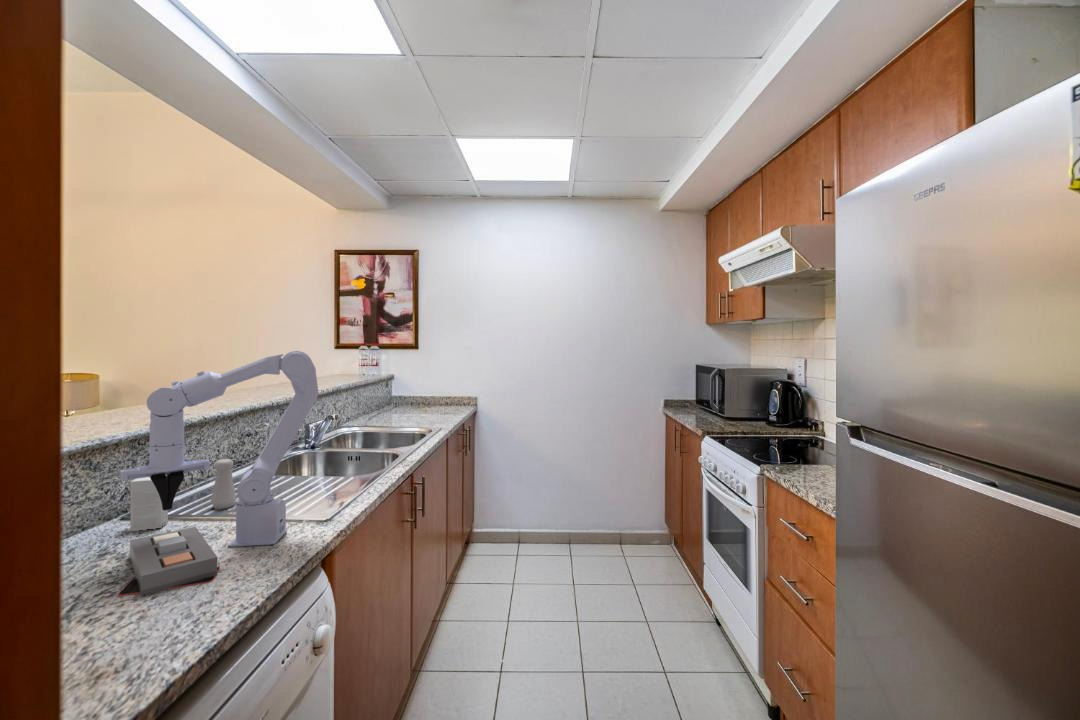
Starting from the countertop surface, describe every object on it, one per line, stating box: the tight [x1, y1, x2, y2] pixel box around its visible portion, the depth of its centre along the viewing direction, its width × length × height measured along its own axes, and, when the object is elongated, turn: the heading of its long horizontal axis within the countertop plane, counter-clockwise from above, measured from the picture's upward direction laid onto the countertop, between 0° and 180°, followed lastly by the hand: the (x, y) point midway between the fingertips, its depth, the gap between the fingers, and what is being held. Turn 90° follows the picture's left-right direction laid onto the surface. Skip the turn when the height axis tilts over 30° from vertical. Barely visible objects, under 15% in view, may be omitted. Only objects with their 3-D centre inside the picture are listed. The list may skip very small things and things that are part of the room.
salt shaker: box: [210, 458, 237, 510], centre depth 128 cm, size 6×6×13 cm
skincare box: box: [129, 477, 169, 532], centre depth 112 cm, size 6×4×12 cm
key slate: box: [158, 535, 186, 555], centre depth 92 cm, size 4×4×2 cm
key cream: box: [153, 532, 179, 545], centre depth 97 cm, size 4×4×2 cm
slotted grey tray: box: [129, 526, 218, 597], centre depth 92 cm, size 22×11×4 cm, turn 45°
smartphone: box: [117, 566, 221, 597], centre depth 86 cm, size 7×1×14 cm
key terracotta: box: [162, 552, 193, 568], centre depth 87 cm, size 4×4×2 cm
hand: (167, 508), depth 98 cm, fingers closed
